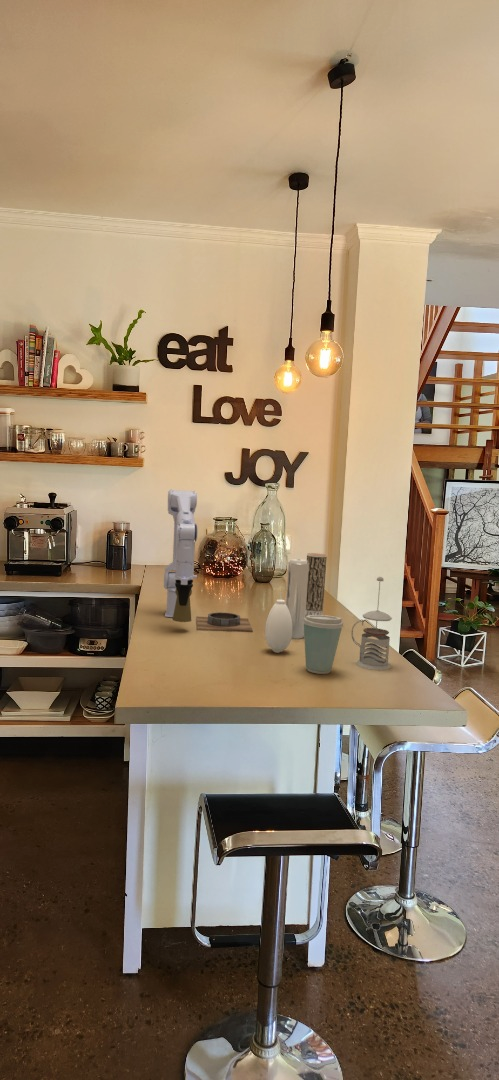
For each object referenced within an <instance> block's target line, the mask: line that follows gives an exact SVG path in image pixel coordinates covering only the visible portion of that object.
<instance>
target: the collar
mask: <svg viewBox="0 0 499 1080" xmlns="http://www.w3.org/2000/svg"><path fill="white" fill-rule="evenodd" d="M207 617H208V624H210V625H214V626H220V627H233V626H238V625H240V618H241V616H240V615H239V614H236V613H230V612H222V611H221V612H211V613H208V614H207Z"/></svg>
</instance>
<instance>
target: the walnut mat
mask: <svg viewBox="0 0 499 1080" xmlns="http://www.w3.org/2000/svg"><path fill="white" fill-rule="evenodd" d="M196 630H197V631H213V632H215V631H216V632H217V631H219V632H242V633H245V632H246V633H253V628H252V625H251V623H250V620H249V618H246V617H245V618H244V617H243V618H242V617H240V625H238V626H233V627H220V626H214V625H210V624H208V616H198V615H197V616H196Z"/></svg>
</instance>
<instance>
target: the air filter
mask: <svg viewBox="0 0 499 1080" xmlns="http://www.w3.org/2000/svg"><path fill="white" fill-rule="evenodd" d="M308 571H309V563H307V559H303V558H302V559H301V558H290V559H289V561H288V567H287V581H286V582H287V583H286V599H285V604H286V606H287V607H288V609H289V612H290V615H291V619H292V638H291V640H292V639H294V640H299V639H303V638H304V623H303V620H304V618H305V615H306V601H307V586H308Z"/></svg>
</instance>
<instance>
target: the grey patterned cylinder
mask: <svg viewBox="0 0 499 1080" xmlns="http://www.w3.org/2000/svg"><path fill="white" fill-rule="evenodd" d="M327 558H328V556H327V554H325V553H318V552H317V553H316V552H315V553H314V552H309V553H308V552H307V554H306V560H307V563H309V571H308V586H307V601H306V615H305V617H306V616H308V615H324V613H323V612H324V603H325V602H324V601H325V588H326V587H325V585H326V584H325V583H326V574H327V573H326V572H327Z"/></svg>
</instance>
